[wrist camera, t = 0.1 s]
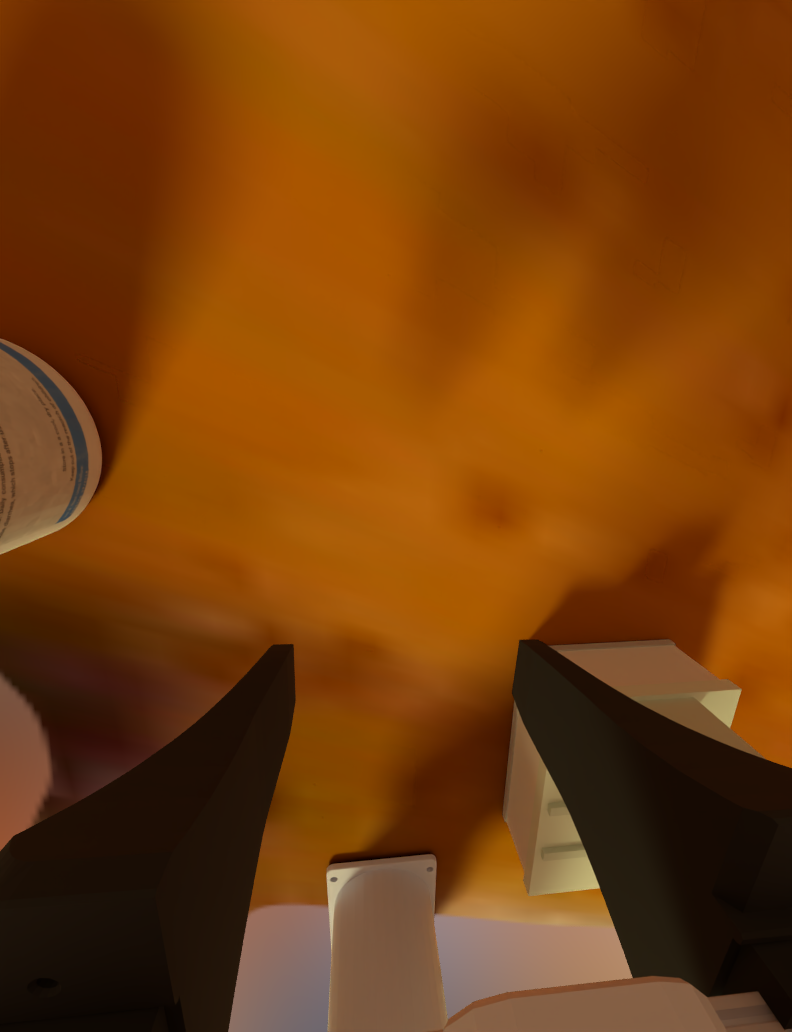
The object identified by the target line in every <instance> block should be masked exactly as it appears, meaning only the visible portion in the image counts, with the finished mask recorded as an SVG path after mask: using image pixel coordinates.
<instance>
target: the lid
mask: <svg viewBox="0 0 792 1032" xmlns="http://www.w3.org/2000/svg"><path fill="white" fill-rule="evenodd" d="M612 688H614V689H616V690H618V691H619V692H621V693H623V694H624V695H626V696H628V697H629V698H631V699H633V700H635V701H636V702H638V703H640V704H642V705H644V706H645V707H647V708H649V709H651V710H653V711H655V712H657V713H659V714H661V715H663V716H665V717H667V718H669V719H671V720H673V721H675V722H677V723H679V724H681V725H683V726H685V727H687V728H690V729H692V730H694V731H696V732H699V733H701V734H703V735H706V736H708V737H710V738H712V739H715V740H717V741H719V742H722V743H724V744H727V745H729V746H732V747H734V748H737V749H739V750H742V751H744V752H747V753H750V754H752V755H755V756H758V757H760V758H763V759H765V758H764V757H763V756H762V755H760V754H759V753H758V752H757V751H756V750H755V749H753V748H752V747H751V746H750V745H749V744H748V743H746V742H745V741H744V740H743V739H742V738H741V737H740V736H738V735H737V734H736V733H735V732H734V731H733V730H731V729H730V727H731V723H732V720H733V717H734V713H735V710H736V707H737V703H738V700H739V696H740V693H741V690H742V689H740V688H739V687H738V686H736V685H735V684H734V683H732V682H731V681H730V680H728V679H723V680H707V681H692V682H676V683H660V684H645V685H629V686H614V687H612ZM523 881H524V884H525V887H526V890H527V893H528V896H534V895H543V894H552V893H560V892H569V891H578V890H587V889H596V888H600V887H599V884H598V882H597V879H596V876H595V874H594V871H593V869H592V866H591V864H590V861H589V859H588V856H587V854H586V851H585V849H584V846H583V844H582V842H581V839H580V837H579V835H578V832H577V830H576V827H575V825H574V823H573V820H572V818H571V816H570V813H569V811H568V809H567V807H566V805H565V803H564V801H563V799H562V797H561V795H560V793H559V791H558V789H557V787H556V785H555V783H554V781H553V780H552V778H551V776H550V774H549V772H548V770H547V768H546V766H545V764H544V763H543V761H542V759H541V757H540V759H539V767H538V774H537V782H536V789H535V797H534V804H533V812H532V819H531V827H530V834H529V842H528V849H527V857H526V864H525V872H524V879H523Z"/></svg>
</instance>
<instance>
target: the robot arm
mask: <svg viewBox="0 0 792 1032" xmlns="http://www.w3.org/2000/svg"><path fill="white" fill-rule="evenodd" d="M512 694H513V697H514V700H515V703H516V706H517V709H518V711H519V714H520V716H521V719H522V721H523V724H524V726H525V728H526V730H527V732H528V734H529V736H530V738H531V740H532V742H533V744H534V745H535V747H536V749H537V751H538V753H539V755H540V757H541V759H542V761H543V763H544V764H545V766H546V768H547V770H548V772H549V774H550V776H551V778H552V780H553V781H554V783H555V785H556V787H557V789H558V791H559V793H560V795H561V797H562V799H563V801H564V803H565V805H566V807H567V809H568V811H569V813H570V816H571V818H572V820H573V823H574V825H575V827H576V830H577V832H578V835H579V837H580V839H581V842H582V844H583V846H584V849H585V851H586V854H587V856H588V859H589V861H590V864H591V866H592V869H593V871H594V874H595V876H596V879H597V882H598V884H599V887H600V889H601V892H602V894H603V897H604V899H605V902H606V905H607V908H608V910H609V913H610V916H611V918H612V921H613V924H614V927H615V929H616V932H617V935H618V937H619V940H620V943H621V945H622V948H623V951H624V954H625V957H626V959H627V963H628V965H629V968H630V971H631V974H632V977H633V978H631V979H622V980H613V981H604V982H596V983H586V984H578V985H568V986H560V987H551V988H542V989H533V990H524V991H515V992H507V993H503V994H499V995H496V996H492V997H489V998H485V999H481V1000H478V1001H475V1002H473V1003H471V1004H470V1005H468V1006H467V1007H465V1008H464V1009H462V1010H461V1011H460V1012H458V1013H457V1014H455V1015H454V1016H452V1017H451V1018H450V1019H448V1018H447V1011H446V1004H445V997H444V990H443V983H442V976H441V969H440V962H439V956H438V949H437V941H436V934H435V927H434V911H435V889H436V867H437V862H436V857H435V856H434V855H432V854H426V855H416V856H406V857H396V858H386V859H376V860H366V861H356V862H346V863H336V864H331V865H329V866H328V868H327V889H328V904H329V918H330V919H329V920H330V934H331V951H332V957H331V958H332V959H331V977H330V995H329V1015H328V1032H792V768H789V767H786V766H783V765H780V764H777V763H774V762H771V761H769V760H766V759H763V758H760V757H758V756H755V755H752V754H750V753H747V752H744V751H742V750H739V749H737V748H734V747H732V746H729V745H727V744H724V743H722V742H719V741H717V740H715V739H712V738H710V737H708V736H706V735H703V734H701V733H699V732H696V731H694V730H692V729H690V728H687V727H685V726H683V725H681V724H679V723H677V722H675V721H673V720H671V719H669V718H667V717H665V716H663V715H661V714H659V713H657V712H655V711H653V710H651V709H649V708H647V707H645V706H644V705H642V704H640V703H638V702H636V701H635V700H633V699H631V698H629V697H628V696H626V695H624V694H623V693H621V692H619V691H618V690H616V689H614V688H612V687H611V686H609V685H608V684H606V683H604V682H603V681H601V680H600V679H598V678H596V677H595V676H593V675H592V674H590V673H589V672H587V671H586V670H584V669H583V668H581V667H580V666H578V665H577V664H575V663H574V662H572V661H571V660H569V659H568V658H566V657H565V656H563V655H562V654H560V653H559V652H557V651H555V650H554V649H552V648H551V647H549V646H548V645H546V644H544V643H543V642H541V641H539V640H520V641H519V648H518V655H517V662H516V669H515V676H514V683H513V690H512ZM294 707H295V674H294V647H293V644H283V645H272V646H271V647H270V648H269V649H268V650H267V651H266V653H265V654H264V655H263V656H262V657H261V658H260V659H259V660H258V662H257V663H256V664H255V665H254V666H253V667H252V668H251V669H250V670H249V672H248V673H247V674H246V675H245V676H244V677H243V678H242V679H241V680H240V681H239V682H238V683H237V684H236V685H235V686H234V687H233V688H232V689H231V690H230V691H229V692H228V693H227V694H226V695H225V696H224V697H223V698H222V699H221V700H220V701H219V702H218V703H217V704H216V705H215V706H214V707H212V708H211V709H210V710H209V711H208V712H207V713H206V714H205V715H204V716H203V717H201V718H200V719H199V720H198V721H197V722H196V723H195V724H193V725H192V726H191V727H190V728H188V729H187V730H186V731H185V732H183V733H182V734H181V735H180V736H178V737H177V738H176V739H174V740H173V741H172V742H170V743H169V744H168V745H166V746H165V747H163V748H162V749H160V750H159V751H158V752H156V753H155V754H153V755H152V756H151V757H149V758H148V759H146V760H145V761H143V762H142V763H141V764H139V765H138V766H136V767H135V768H133V769H132V770H130V771H129V772H127V773H125V774H124V775H122V776H121V777H119V778H117V779H116V780H114V781H113V782H111V783H109V784H108V785H106V786H104V787H103V788H101V789H99V790H98V791H96V792H94V793H93V794H91V795H89V796H88V797H86V798H84V799H82V800H81V801H79V802H77V803H75V804H74V805H72V806H70V807H68V808H66V809H64V810H62V811H60V812H59V813H57V814H55V815H53V816H51V817H49V818H47V819H45V820H43V821H42V822H40V823H38V824H36V825H34V826H32V827H30V828H28V829H27V830H25V831H23V832H21V833H19V834H17V835H15V836H13V837H12V839H11V840H10V841H9V842H8V843H7V844H6V845H5V847H4V848H3V849H2V850H1V851H0V1032H228V1029H229V1023H230V1017H231V1010H232V1004H233V998H234V992H235V986H236V980H237V975H238V969H239V963H240V957H241V951H242V945H243V939H244V934H245V928H246V922H247V917H248V911H249V906H250V900H251V895H252V889H253V884H254V878H255V873H256V868H257V862H258V857H259V852H260V847H261V842H262V836H263V832H264V827H265V823H266V819H267V815H268V811H269V808H270V804H271V801H272V797H273V793H274V790H275V786H276V783H277V779H278V776H279V772H280V769H281V765H282V761H283V758H284V754H285V751H286V747H287V743H288V740H289V736H290V731H291V725H292V719H293V713H294Z"/></svg>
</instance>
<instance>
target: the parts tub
mask: <svg viewBox="0 0 792 1032" xmlns="http://www.w3.org/2000/svg"><path fill="white" fill-rule="evenodd" d="M675 645H676V644H675V643H674V642H673V641H671V640H670V639H665V640H646V641H627V642H608V643H589V644H571V645H552V646H549V647H551V648H552V649H554V650H555V651H557V652H559V653H560V654H562V655H563V656H565V657H566V658H568V659H569V660H571V661H572V662H574V663H575V664H577V665H578V666H580V667H581V668H583V669H584V670H586V671H587V672H589V673H590V674H592V675H593V676H595V677H596V678H598V679H600V680H601V681H603V682H604V683H606V684H608V685H609V686H611V687H614V686H629V685H645V684H660V683H676V682H692V681H707V680H720V679H718V678H717V677H716V676H714V675H713V674H712V673H710V672H709V671H708V670H706V669H705V668H704V667H702V666H701V665H700V664H698V663H697V662H696V661H694V660H693V659H692V658H690V657H689V656H688V655H686V654H685V653H684V652H682V651H681V650H680V649H678V648H677V647H676V646H675ZM539 759H540V755H539V753H538V751H537V749H536V747H535V745H534V744H533V742H532V740H531V738H530V736H529V734H528V732H527V730H526V728H525V726H524V724H523V721H522V719H521V716H520V714H519V711H518V709H517V706H516V703H515V700H514V709H513V719H512V728H511V738H510V747H509V757H508V766H507V776H506V785H505V795H504V804H503V814H502V815H503V818H504V821H505V822H507V824H508V827H509V830H510V833H511V835H512V838H513V841H514V844H515V847H516V850H517V852H518V855H519V858H520V861H521V864H522V866H523V869H524V872H525V864H526V857H527V849H528V842H529V834H530V827H531V819H532V812H533V804H534V797H535V789H536V782H537V774H538V767H539Z"/></svg>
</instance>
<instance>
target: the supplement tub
mask: <svg viewBox="0 0 792 1032" xmlns="http://www.w3.org/2000/svg"><path fill="white" fill-rule="evenodd" d="M101 469H102V450H101V443H100V438H99V435H98V431H97V428H96V426H95V423H94V420H93V418H92V416H91V414H90V412H89V410H88V409H87V407H86V405H85V403H84V402H83V400H82V399H81V398H80V396H79V395H78V394H77V392H76V391H75V390H74V388H73V387H72V386H71V385H70V384H69V383H68V382H67V381H66V380H65V379H64V378H63V377H62V376H61V375H60V374H59V373H58V372H57V371H56V370H55V369H54V368H52V367H51V366H50V365H48V364H47V363H46V362H45V361H43V360H42V359H40V358H39V357H37V356H36V355H34V354H32V353H31V352H29V351H27V350H25V349H24V348H22V347H20V346H18V345H15V344H13V343H11V342H9V341H7V340H4V339H1V338H0V554H2V553H5V552H7V551H10V550H12V549H14V548H17V547H19V546H22V545H24V544H27V543H29V542H32V541H34V540H36V539H38V538H41V537H43V536H46V535H48V534H51V533H53V532H55V531H58V530H59V529H61V528H63V527H64V526H66V525H68V524H69V523H70V522H72V521H73V520H74V519H75V518H76V517H77V516H78V515H79V514H80V513H81V512H82V511H83V510H84V509H85V507H86V506H87V505H88V503H89V502H90V500H91V498H92V496H93V494H94V492H95V490H96V488H97V485H98V482H99V478H100V474H101Z"/></svg>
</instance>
